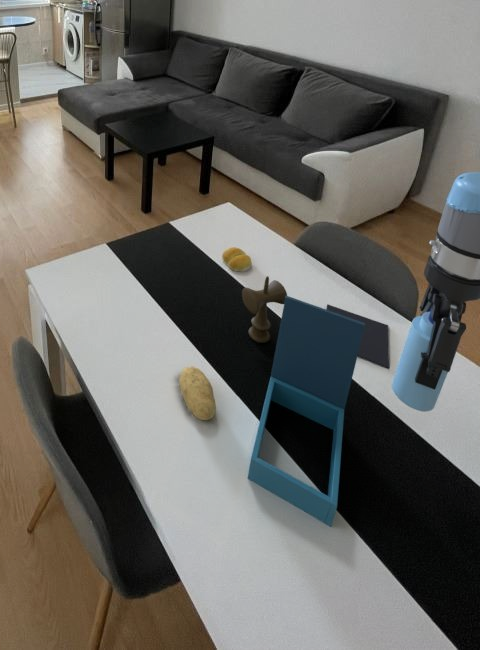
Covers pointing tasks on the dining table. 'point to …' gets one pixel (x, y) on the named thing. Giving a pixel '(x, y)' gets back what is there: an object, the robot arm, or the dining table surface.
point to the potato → (197, 393)
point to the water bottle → (416, 367)
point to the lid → (317, 350)
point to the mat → (370, 338)
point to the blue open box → (285, 483)
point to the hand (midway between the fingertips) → (422, 367)
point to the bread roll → (236, 259)
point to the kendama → (262, 307)
